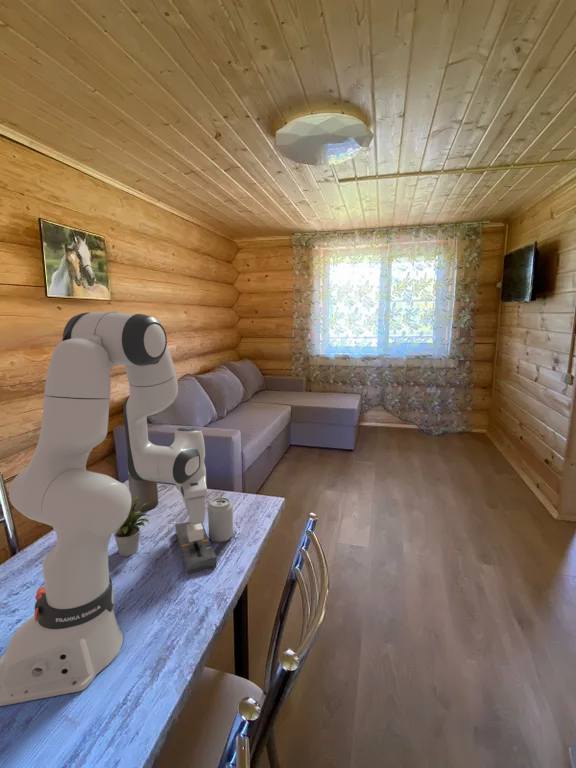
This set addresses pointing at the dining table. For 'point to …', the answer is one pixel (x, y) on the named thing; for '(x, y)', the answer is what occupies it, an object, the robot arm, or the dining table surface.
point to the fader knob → (195, 532)
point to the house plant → (130, 531)
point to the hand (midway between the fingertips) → (192, 523)
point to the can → (220, 519)
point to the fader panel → (195, 551)
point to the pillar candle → (143, 493)
